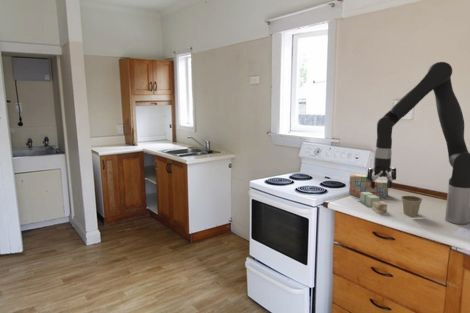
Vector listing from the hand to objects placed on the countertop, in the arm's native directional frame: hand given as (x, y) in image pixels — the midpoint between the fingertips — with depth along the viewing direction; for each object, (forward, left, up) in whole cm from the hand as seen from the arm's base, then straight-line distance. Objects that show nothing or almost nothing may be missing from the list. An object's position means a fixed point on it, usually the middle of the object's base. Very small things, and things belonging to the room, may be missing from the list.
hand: (380, 188), depth 170 cm
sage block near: (-1, -9, -12) cm, 15 cm away
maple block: (0, 0, -13) cm, 13 cm away
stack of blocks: (-9, -30, -13) cm, 34 cm away
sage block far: (-1, -15, -12) cm, 20 cm away
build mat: (-2, -12, -13) cm, 18 cm away
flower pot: (-13, +6, -13) cm, 19 cm away
